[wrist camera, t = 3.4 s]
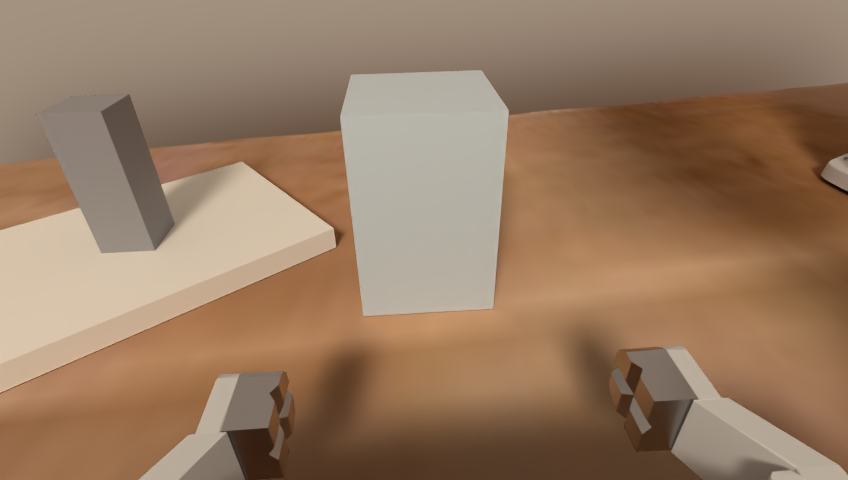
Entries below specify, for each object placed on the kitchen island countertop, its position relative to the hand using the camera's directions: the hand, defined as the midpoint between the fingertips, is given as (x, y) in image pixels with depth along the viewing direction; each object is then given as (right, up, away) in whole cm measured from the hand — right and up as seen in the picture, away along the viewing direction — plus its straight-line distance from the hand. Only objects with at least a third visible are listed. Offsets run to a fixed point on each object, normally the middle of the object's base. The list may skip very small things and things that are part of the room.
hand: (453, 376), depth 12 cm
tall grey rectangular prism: (-1, +2, +12) cm, 12 cm away
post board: (-15, +3, +14) cm, 21 cm away
